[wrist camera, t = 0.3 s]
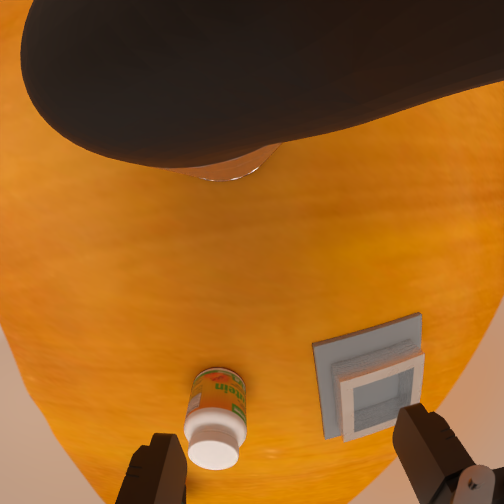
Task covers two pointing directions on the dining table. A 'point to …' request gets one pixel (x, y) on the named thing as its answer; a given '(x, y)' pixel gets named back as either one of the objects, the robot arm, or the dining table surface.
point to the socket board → (369, 377)
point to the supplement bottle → (216, 419)
